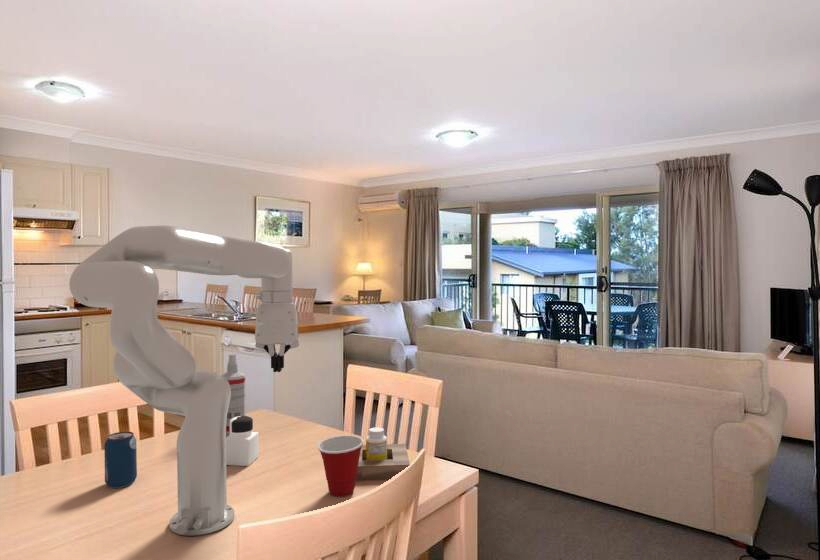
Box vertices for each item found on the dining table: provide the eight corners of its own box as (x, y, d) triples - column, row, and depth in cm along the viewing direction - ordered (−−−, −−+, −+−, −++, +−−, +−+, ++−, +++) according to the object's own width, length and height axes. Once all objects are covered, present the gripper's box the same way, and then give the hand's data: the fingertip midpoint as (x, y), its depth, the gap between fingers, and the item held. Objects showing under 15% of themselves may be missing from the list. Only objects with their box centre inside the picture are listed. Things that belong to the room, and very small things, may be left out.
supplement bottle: (371, 462, 145) (371, 425, 144) (390, 465, 143) (390, 427, 143) (362, 470, 139) (362, 431, 139) (382, 473, 138) (382, 433, 137)
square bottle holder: (410, 478, 134) (409, 464, 134) (345, 480, 133) (345, 466, 133) (405, 455, 150) (405, 443, 150) (348, 457, 149) (347, 445, 148)
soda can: (143, 479, 133) (142, 432, 133) (121, 490, 127) (120, 440, 126) (120, 476, 135) (120, 429, 135) (98, 487, 129) (97, 438, 128)
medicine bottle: (259, 456, 149) (258, 414, 149) (248, 466, 142) (248, 421, 142) (234, 456, 150) (234, 413, 150) (223, 465, 143) (222, 421, 143)
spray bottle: (242, 433, 170) (242, 355, 169) (218, 435, 169) (217, 356, 168) (247, 426, 178) (246, 351, 177) (223, 427, 177) (223, 352, 176)
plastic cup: (313, 486, 129) (313, 437, 129) (357, 480, 133) (356, 432, 133) (322, 505, 119) (321, 451, 119) (368, 497, 123) (368, 446, 122)
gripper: (243, 299, 129) (243, 374, 129) (305, 298, 130) (306, 373, 130) (249, 297, 136) (250, 368, 137) (308, 297, 137) (309, 367, 138)
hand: (277, 371), depth 134 cm, fingers closed
